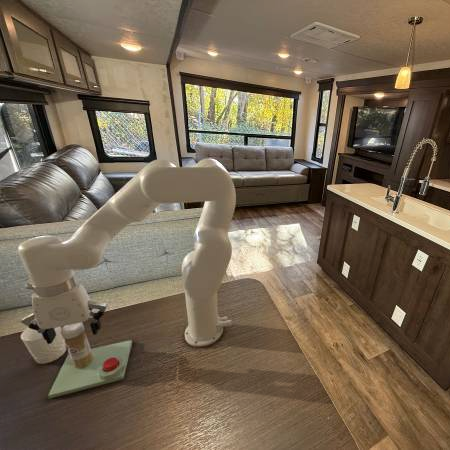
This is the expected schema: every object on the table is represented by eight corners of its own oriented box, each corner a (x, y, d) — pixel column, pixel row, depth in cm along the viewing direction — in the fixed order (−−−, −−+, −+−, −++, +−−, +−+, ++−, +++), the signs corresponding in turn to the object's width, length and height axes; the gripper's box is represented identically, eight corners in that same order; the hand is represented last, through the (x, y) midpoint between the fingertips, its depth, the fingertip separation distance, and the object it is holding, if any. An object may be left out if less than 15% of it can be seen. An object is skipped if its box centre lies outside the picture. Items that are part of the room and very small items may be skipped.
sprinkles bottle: (71, 371, 69) (57, 335, 64) (76, 357, 73) (63, 323, 67) (91, 365, 71) (79, 331, 66) (96, 352, 75) (84, 318, 69)
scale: (132, 342, 80) (130, 335, 79) (123, 379, 69) (121, 372, 68) (69, 356, 74) (66, 349, 73) (49, 399, 63) (45, 391, 62)
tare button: (119, 360, 72) (118, 355, 71) (116, 369, 69) (115, 365, 68) (106, 363, 70) (104, 359, 70) (102, 373, 68) (101, 369, 67)
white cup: (47, 369, 70) (35, 343, 66) (25, 362, 71) (12, 336, 67) (76, 346, 77) (67, 322, 73) (55, 340, 78) (45, 316, 75)
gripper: (-3, 301, 55) (25, 355, 61) (94, 287, 61) (109, 337, 68) (17, 281, 61) (40, 332, 68) (103, 270, 68) (116, 318, 74)
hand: (75, 335), depth 68 cm, fingers open, 9 cm apart
